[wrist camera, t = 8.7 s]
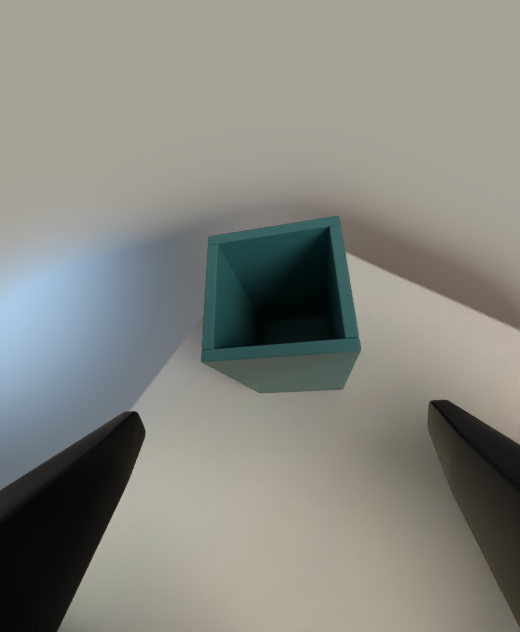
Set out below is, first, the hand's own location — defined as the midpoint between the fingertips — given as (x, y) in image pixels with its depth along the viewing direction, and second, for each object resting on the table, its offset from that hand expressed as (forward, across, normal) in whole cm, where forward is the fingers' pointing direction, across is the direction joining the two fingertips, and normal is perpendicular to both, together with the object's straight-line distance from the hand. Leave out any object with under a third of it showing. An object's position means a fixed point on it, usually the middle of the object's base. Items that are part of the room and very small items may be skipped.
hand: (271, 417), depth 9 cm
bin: (+12, 0, +5) cm, 13 cm away
